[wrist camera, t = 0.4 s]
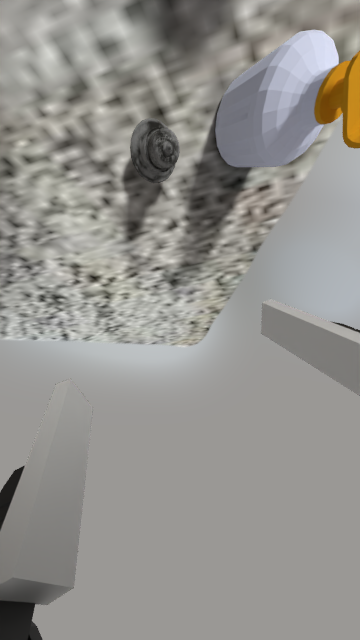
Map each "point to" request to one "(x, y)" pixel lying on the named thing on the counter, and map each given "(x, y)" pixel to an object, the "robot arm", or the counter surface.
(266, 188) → the counter surface
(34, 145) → the counter surface
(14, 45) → the counter surface
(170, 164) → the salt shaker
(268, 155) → the soap bottle
